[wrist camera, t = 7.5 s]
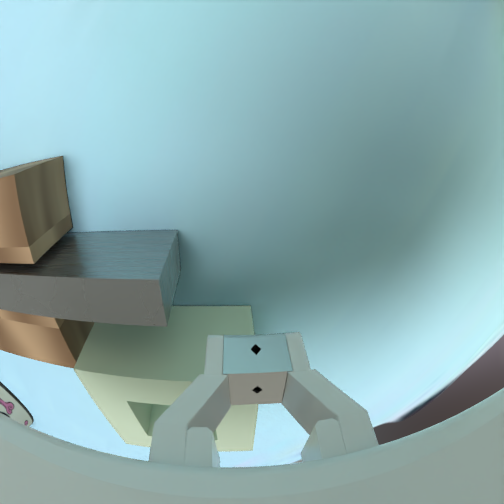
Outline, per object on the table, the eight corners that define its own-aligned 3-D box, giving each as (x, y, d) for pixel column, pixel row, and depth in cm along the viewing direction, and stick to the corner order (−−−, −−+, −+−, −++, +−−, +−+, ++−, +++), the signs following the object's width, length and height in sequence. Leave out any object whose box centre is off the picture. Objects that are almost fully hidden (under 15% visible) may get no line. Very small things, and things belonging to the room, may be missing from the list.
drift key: (177, 229, 15) (158, 279, 10) (180, 269, 16) (167, 326, 11) (19, 235, 14) (-23, 271, 9) (28, 266, 15) (-9, 307, 10)
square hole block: (250, 305, 18) (261, 380, 12) (246, 391, 22) (252, 450, 17) (104, 303, 17) (73, 368, 11) (137, 388, 21) (126, 443, 16)
